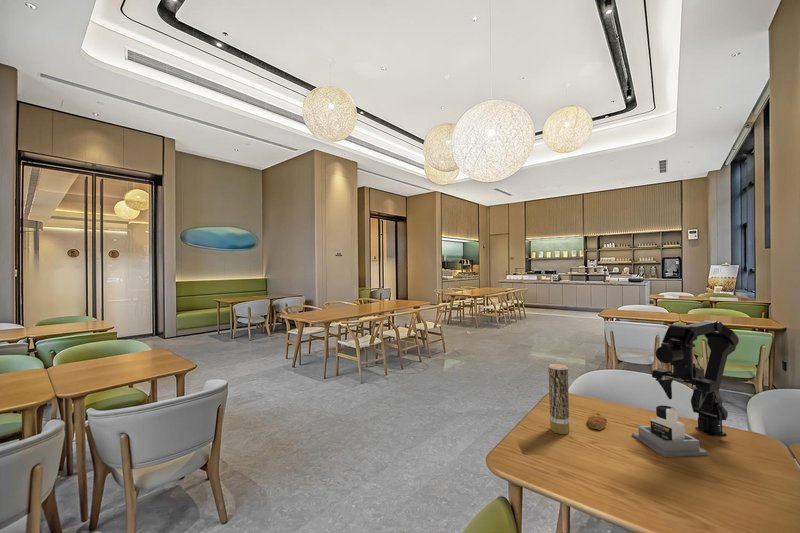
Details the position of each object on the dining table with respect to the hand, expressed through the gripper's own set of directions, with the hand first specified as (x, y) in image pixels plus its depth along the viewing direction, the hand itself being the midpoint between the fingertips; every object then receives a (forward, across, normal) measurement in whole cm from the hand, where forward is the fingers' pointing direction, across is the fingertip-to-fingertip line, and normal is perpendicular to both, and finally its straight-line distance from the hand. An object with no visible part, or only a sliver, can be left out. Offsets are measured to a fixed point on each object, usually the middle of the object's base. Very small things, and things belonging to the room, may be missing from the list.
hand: (684, 403), depth 125 cm
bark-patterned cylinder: (+13, +23, +35) cm, 44 cm away
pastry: (+14, +21, +18) cm, 31 cm away
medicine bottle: (+12, 0, +9) cm, 15 cm away
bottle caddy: (+13, 0, +10) cm, 16 cm away
